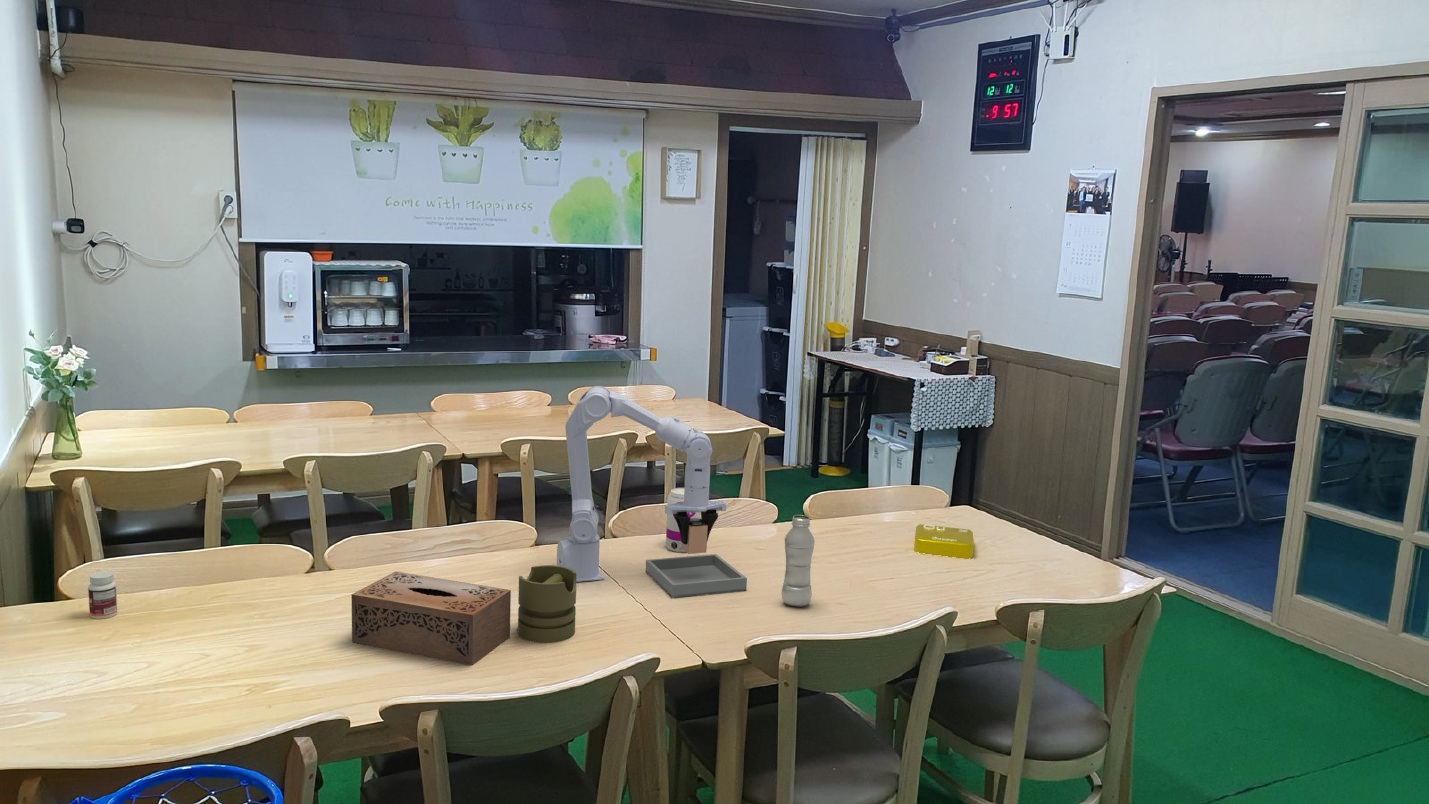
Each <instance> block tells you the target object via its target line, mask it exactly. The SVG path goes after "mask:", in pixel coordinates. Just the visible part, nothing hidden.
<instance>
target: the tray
mask: <svg viewBox="0 0 1429 804" xmlns="http://www.w3.org/2000/svg"><path fill="white" fill-rule="evenodd" d="M645 573H646V575H648V576H649V577H650V579H652V580H653V581H654V582H655V583H656V584H657V585H658V586H659V587H660V588H661V589H662V590H663V591H664V592H666V594H667V595H669V597H670V598H671V599H677V598H687V597H697V595H699V596H706V595H705V594H709V595H718V594H727V593H728V594H729V593H738V592H747V585H748V584H747V582H748V577H746V576H745V575H744V574H743V573H741V572H740V571H739V570H738V569H736V568H735V567H733V566H732V565H731V564H729V562H727V561H726V560H724V559H723V558H722V557H721V556H719V555H718V554H717V553H711V554H702V555H699V554H698V555H689V556H688V555H687V556H678V557H677V556H676V557H666V558H665V557H664V558H652V559H645Z"/></svg>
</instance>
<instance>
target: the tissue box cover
mask: <svg viewBox="0 0 1429 804" xmlns="http://www.w3.org/2000/svg"><path fill="white" fill-rule="evenodd" d="M511 591H512V590H511V589H506V588H501V587H500V588H499V587H493V586H488V585H482V584H475V583H469V582H463V581H459V580H458V581H456V580H451V579H444V578H437V577H431V576H425V575H420V574H415V573H414V574H413V573H407V572H402V571H394V572H392V573H390V574H388V575H387V576H384V577H382V578H381V579H378V580H377V581H375V582H372V583H371V584H369V585H367V586H365V587H363V588H361V589H358V590H357V591H355V592H354V593H352V594H351V644H355V645H360V646H366V647H370V648H376V649H381V650H388V651H393V652H397V653H403V654H408V655H414V656H419V657H424V658H431V659H436V660H441V661H445V662H450V663H451V662H452V663H456V664H462V665H468V666H471V667H472V666H474V665H476V664H477V663H478V662H480V661H481V660H482V659H483V658H485V657H486V656H487V655H489V654H490V653H491V652H492V651H494V650H496V648H498V647H499V646H501V645H502V644H503V643H504V642H506V641H507V640H509V639H510V638H511V607H512V606H511V600H512V599H511V596H512V595H511V594H512V592H511Z"/></svg>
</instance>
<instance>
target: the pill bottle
mask: <svg viewBox="0 0 1429 804" xmlns="http://www.w3.org/2000/svg"><path fill="white" fill-rule="evenodd" d="M114 576H115V575H114V572H112V571H109V570H105V571H97V572H93V573H91V574H90V575H89V582H90V584H89V585H88V589H87V591H88V592H87V593H88V605H89V606H88V607H89V609H88V610H89V617H90V618H91V619H94V620H95V619H96V620H97V619H98V620H103V619H104V620H105V619H109V618H112V617H114V616H116V615H117V614H118V599H117V598H118V597H117V596H118V595H117V591H118V590H117V584H116V582H115V581H114V579H115V578H114Z"/></svg>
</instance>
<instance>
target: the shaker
mask: <svg viewBox="0 0 1429 804" xmlns="http://www.w3.org/2000/svg"><path fill="white" fill-rule="evenodd" d="M707 529H708V526H707V525H706V524H705V523H704V520H702V519H701V518H700V517H699V518H690V522H689V528H688V542H687V544H683V543H682V549H683V550H684V551H686V552H685V553H687V554H688V555H692V554H706V553H707V546H708V541H707Z"/></svg>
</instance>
